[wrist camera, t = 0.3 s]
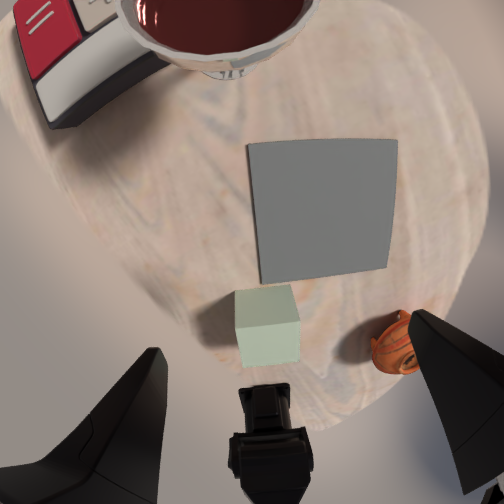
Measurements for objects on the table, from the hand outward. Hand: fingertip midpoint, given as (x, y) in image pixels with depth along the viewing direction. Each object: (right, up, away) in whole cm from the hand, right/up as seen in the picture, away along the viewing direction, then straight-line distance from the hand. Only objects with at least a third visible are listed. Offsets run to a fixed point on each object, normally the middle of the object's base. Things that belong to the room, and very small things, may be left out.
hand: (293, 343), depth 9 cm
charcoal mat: (+5, +6, +13) cm, 15 cm away
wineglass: (-3, +17, +7) cm, 19 cm away
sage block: (0, -2, +18) cm, 18 cm away
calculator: (-14, +21, +5) cm, 26 cm away
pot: (+15, -6, +21) cm, 26 cm away
